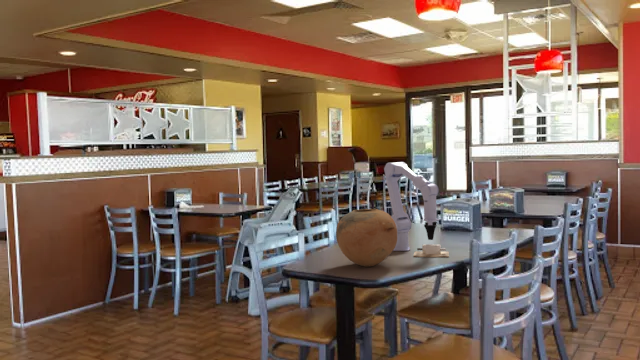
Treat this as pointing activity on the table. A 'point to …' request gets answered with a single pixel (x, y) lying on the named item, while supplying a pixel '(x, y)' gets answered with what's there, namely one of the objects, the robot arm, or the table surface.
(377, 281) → the table surface
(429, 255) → the pad
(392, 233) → the pot
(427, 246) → the connector
